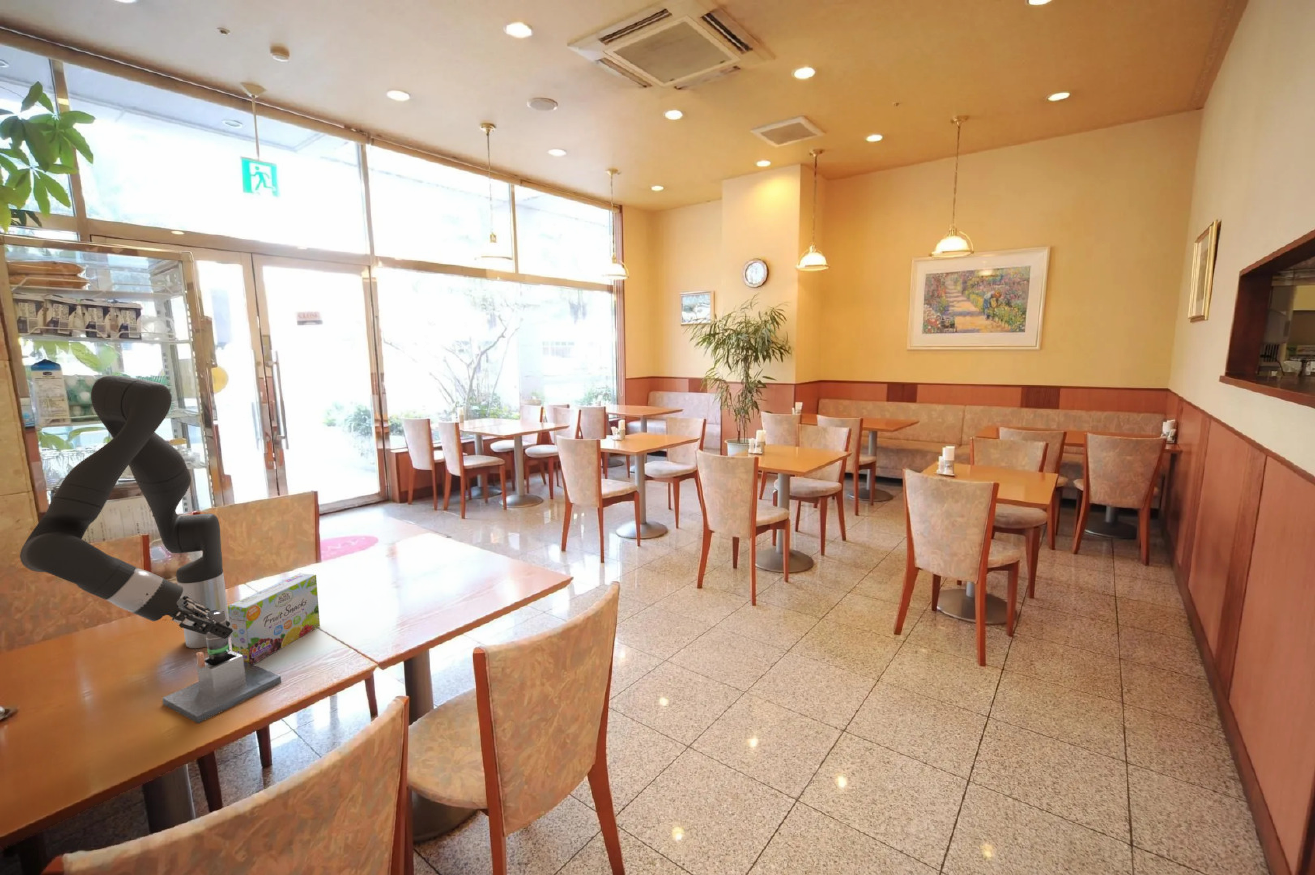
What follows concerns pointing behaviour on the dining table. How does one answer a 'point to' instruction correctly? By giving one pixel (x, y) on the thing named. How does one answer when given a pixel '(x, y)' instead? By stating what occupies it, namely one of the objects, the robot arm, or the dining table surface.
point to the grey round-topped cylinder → (217, 641)
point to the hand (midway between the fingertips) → (228, 630)
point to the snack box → (274, 617)
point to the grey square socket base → (220, 687)
